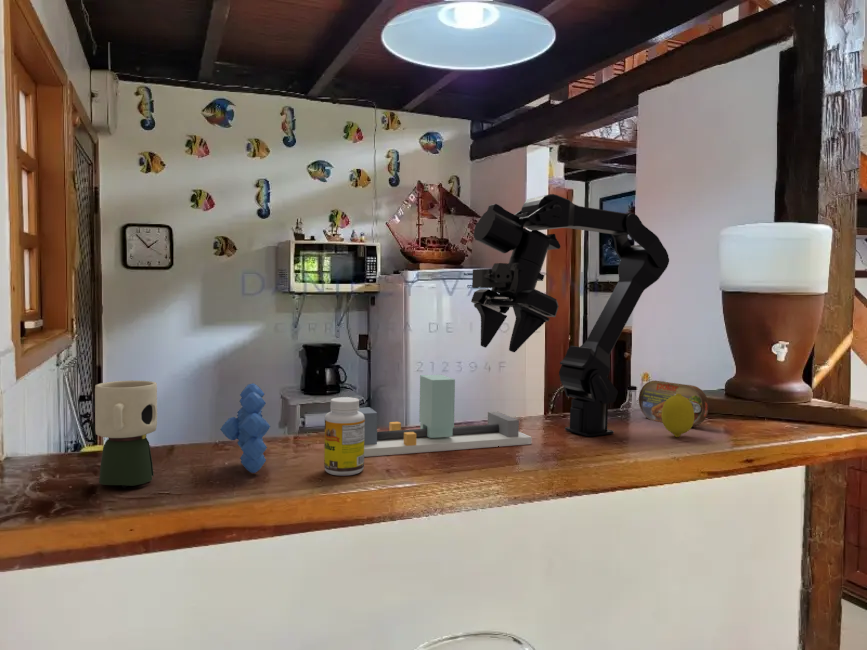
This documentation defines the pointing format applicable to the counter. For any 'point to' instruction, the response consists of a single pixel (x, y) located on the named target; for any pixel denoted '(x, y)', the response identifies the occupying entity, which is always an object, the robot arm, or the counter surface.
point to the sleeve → (437, 405)
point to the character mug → (126, 430)
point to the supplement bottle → (344, 437)
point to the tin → (660, 391)
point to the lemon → (677, 415)
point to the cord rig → (464, 437)
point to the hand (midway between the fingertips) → (496, 349)
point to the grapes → (249, 428)
